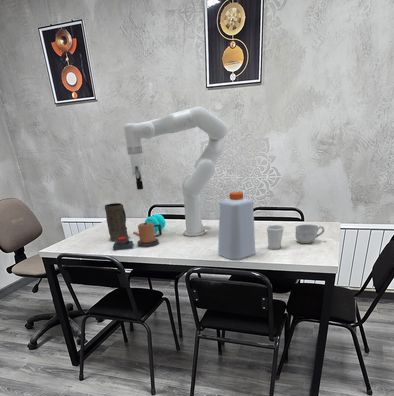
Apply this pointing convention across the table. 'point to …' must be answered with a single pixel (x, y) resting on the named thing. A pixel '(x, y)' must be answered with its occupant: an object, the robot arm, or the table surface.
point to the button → (122, 239)
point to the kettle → (147, 232)
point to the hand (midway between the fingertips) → (140, 189)
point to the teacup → (307, 233)
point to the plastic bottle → (236, 227)
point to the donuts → (156, 221)
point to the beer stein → (116, 221)
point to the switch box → (123, 245)
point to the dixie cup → (274, 236)
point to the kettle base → (148, 243)
